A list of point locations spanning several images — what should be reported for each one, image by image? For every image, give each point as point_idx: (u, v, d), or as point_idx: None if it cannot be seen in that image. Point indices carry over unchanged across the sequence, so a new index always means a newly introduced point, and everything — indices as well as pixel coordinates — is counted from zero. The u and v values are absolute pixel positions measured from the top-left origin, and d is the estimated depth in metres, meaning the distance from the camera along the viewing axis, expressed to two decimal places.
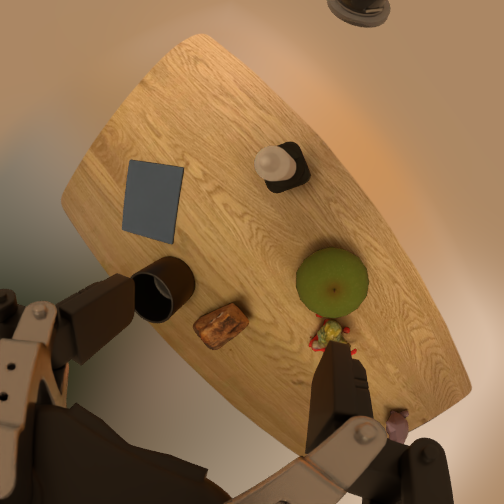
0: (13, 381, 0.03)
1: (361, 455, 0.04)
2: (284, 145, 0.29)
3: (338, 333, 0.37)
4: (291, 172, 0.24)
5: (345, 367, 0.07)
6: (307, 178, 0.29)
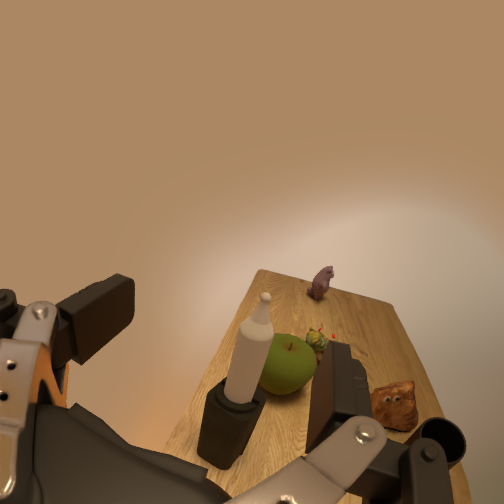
0: (13, 381, 0.03)
1: (361, 455, 0.04)
2: (215, 403, 0.23)
3: (311, 331, 0.46)
4: None
5: (345, 367, 0.07)
6: None
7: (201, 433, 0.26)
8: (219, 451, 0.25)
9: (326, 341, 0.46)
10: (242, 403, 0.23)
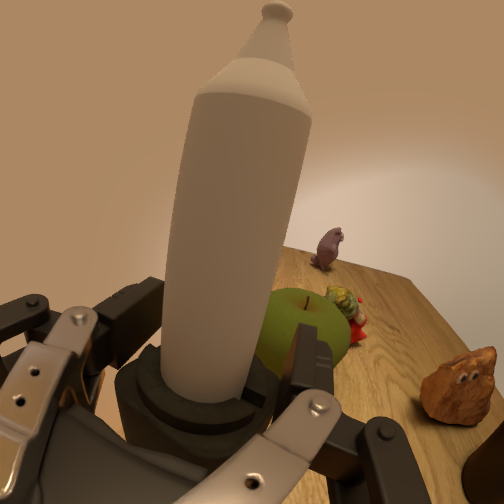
0: (34, 388, 0.03)
1: (311, 425, 0.05)
2: (134, 398, 0.07)
3: (333, 287, 0.30)
4: None
5: (309, 346, 0.08)
6: None
7: None
8: None
9: (356, 302, 0.30)
10: (212, 402, 0.07)
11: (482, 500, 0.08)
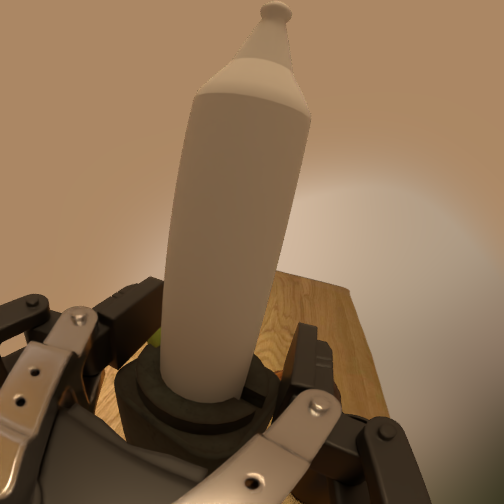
0: (34, 388, 0.03)
1: (311, 425, 0.05)
2: (134, 398, 0.07)
3: None
4: None
5: (309, 346, 0.08)
6: None
7: None
8: None
9: None
10: (212, 402, 0.07)
11: (293, 489, 0.22)
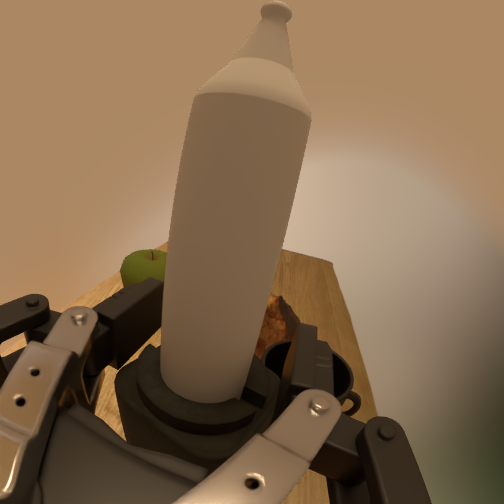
0: (34, 388, 0.03)
1: (311, 425, 0.05)
2: (134, 399, 0.07)
3: None
4: None
5: (309, 346, 0.08)
6: None
7: None
8: None
9: None
10: (212, 402, 0.07)
11: None
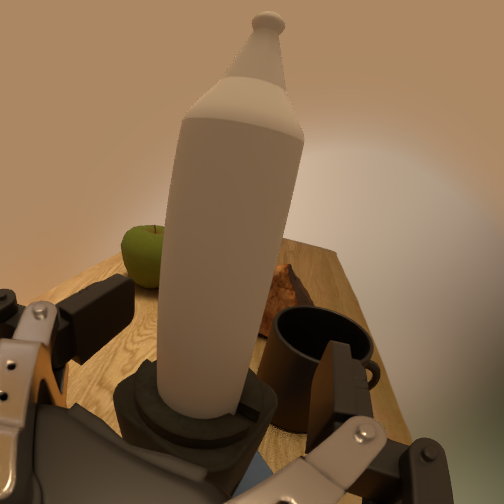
0: (13, 381, 0.03)
1: (361, 455, 0.04)
2: (133, 413, 0.07)
3: None
4: None
5: (345, 367, 0.07)
6: None
7: None
8: None
9: None
10: (207, 418, 0.07)
11: None
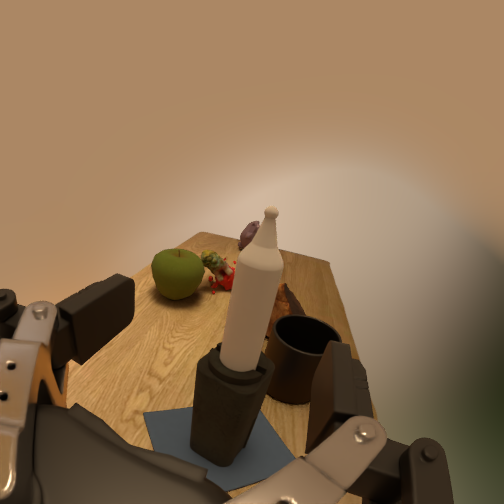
0: (13, 381, 0.03)
1: (361, 455, 0.04)
2: (209, 373, 0.18)
3: (205, 250, 0.57)
4: None
5: (345, 367, 0.07)
6: None
7: (193, 419, 0.21)
8: (217, 441, 0.20)
9: (219, 259, 0.57)
10: (244, 371, 0.18)
11: None
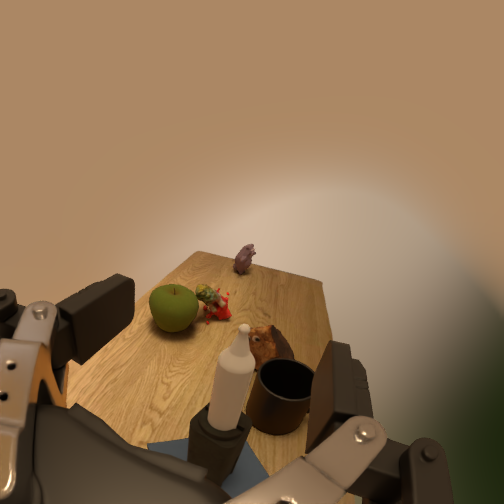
0: (13, 381, 0.03)
1: (361, 455, 0.04)
2: (199, 430, 0.21)
3: None
4: None
5: (345, 367, 0.07)
6: None
7: (188, 456, 0.24)
8: (207, 473, 0.23)
9: (212, 293, 0.59)
10: (226, 430, 0.21)
11: (249, 415, 0.37)
